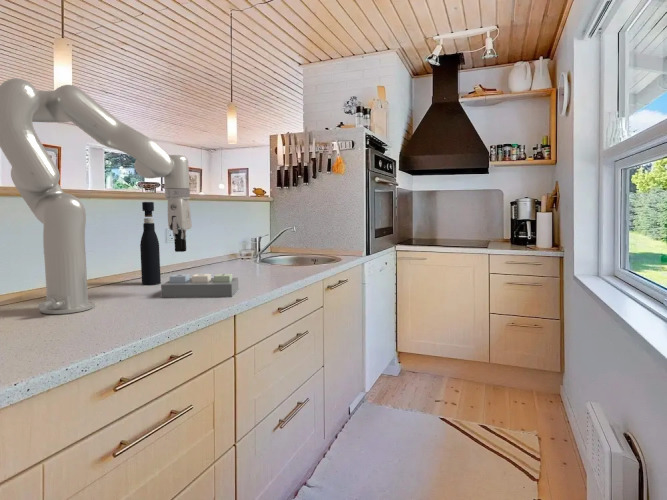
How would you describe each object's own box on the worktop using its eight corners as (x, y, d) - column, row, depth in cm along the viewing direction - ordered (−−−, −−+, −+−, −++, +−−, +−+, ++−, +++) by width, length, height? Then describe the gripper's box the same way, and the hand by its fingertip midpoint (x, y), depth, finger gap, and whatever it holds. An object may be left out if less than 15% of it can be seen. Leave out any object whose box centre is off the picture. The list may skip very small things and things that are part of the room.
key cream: (207, 285, 136) (207, 275, 136) (191, 285, 136) (191, 276, 136) (211, 282, 141) (211, 273, 141) (196, 282, 141) (195, 273, 141)
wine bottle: (163, 283, 156) (160, 202, 154) (146, 285, 152) (142, 201, 149) (156, 281, 161) (152, 202, 158) (139, 283, 156) (135, 202, 154)
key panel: (231, 296, 133) (231, 284, 133) (161, 297, 132) (161, 284, 131) (238, 289, 146) (238, 277, 146) (174, 289, 145) (174, 278, 144)
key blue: (185, 285, 136) (185, 276, 136) (169, 285, 136) (169, 276, 135) (189, 282, 141) (189, 273, 140) (174, 283, 140) (174, 273, 140)
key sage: (229, 285, 137) (229, 275, 136) (214, 285, 136) (213, 275, 136) (232, 282, 142) (232, 273, 141) (217, 282, 141) (217, 273, 141)
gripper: (182, 194, 128) (186, 253, 130) (195, 194, 143) (198, 248, 145) (157, 194, 128) (161, 254, 130) (173, 195, 143) (176, 249, 145)
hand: (180, 251), depth 138 cm, fingers closed
